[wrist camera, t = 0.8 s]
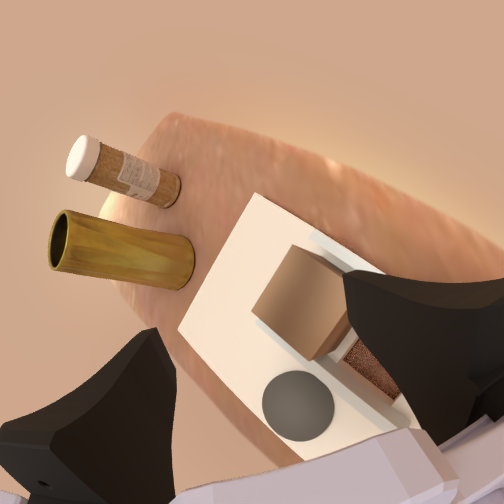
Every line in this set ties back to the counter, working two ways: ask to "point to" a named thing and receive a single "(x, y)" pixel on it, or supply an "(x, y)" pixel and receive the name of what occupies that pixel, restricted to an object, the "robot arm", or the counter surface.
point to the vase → (118, 251)
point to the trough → (333, 372)
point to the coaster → (298, 406)
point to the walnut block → (306, 304)
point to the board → (254, 338)
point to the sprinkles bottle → (121, 172)
